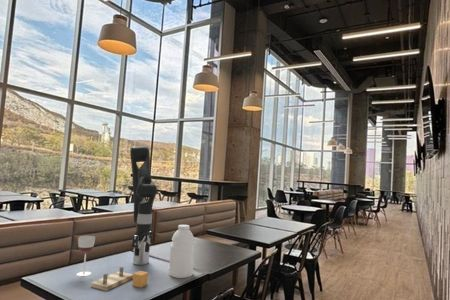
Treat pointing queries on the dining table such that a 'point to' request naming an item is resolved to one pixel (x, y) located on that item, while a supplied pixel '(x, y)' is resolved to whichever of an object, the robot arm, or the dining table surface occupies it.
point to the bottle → (182, 253)
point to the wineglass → (85, 250)
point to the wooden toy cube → (140, 279)
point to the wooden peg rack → (112, 280)
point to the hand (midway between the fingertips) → (141, 253)
